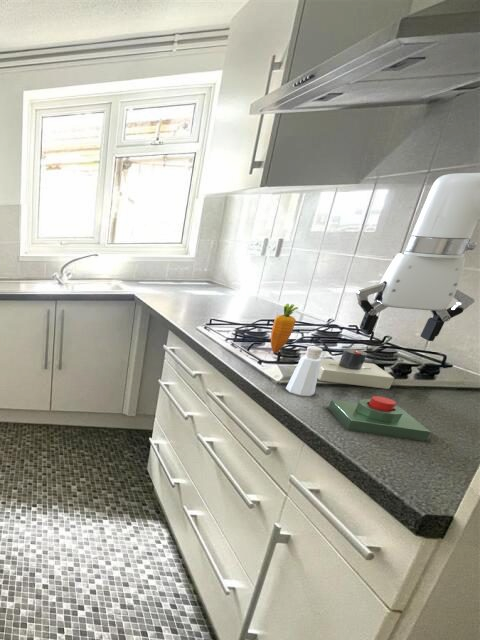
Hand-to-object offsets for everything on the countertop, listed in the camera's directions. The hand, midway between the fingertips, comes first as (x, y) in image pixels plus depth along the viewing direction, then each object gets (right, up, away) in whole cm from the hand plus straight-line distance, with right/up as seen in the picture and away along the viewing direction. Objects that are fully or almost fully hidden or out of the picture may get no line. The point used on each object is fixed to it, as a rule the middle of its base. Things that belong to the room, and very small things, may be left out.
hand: (395, 336), depth 84 cm
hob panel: (+11, -8, +23) cm, 26 cm away
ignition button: (-4, -14, -1) cm, 15 cm away
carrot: (+5, -1, +40) cm, 40 cm away
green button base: (-4, -18, +1) cm, 18 cm away
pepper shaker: (-8, -12, +15) cm, 20 cm away
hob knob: (+11, -5, +22) cm, 25 cm away
